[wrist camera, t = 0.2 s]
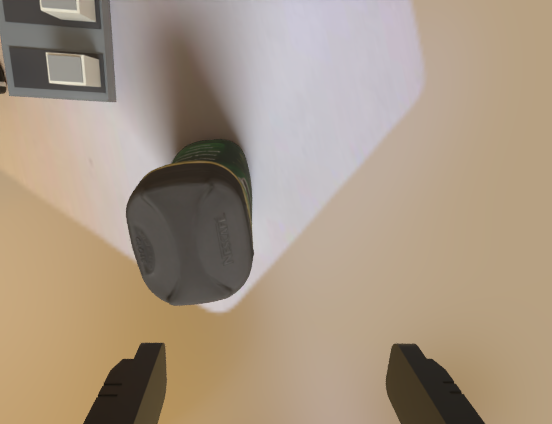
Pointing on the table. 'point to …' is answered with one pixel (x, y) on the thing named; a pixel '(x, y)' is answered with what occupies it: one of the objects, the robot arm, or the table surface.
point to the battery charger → (2, 83)
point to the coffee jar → (194, 224)
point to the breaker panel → (54, 50)
